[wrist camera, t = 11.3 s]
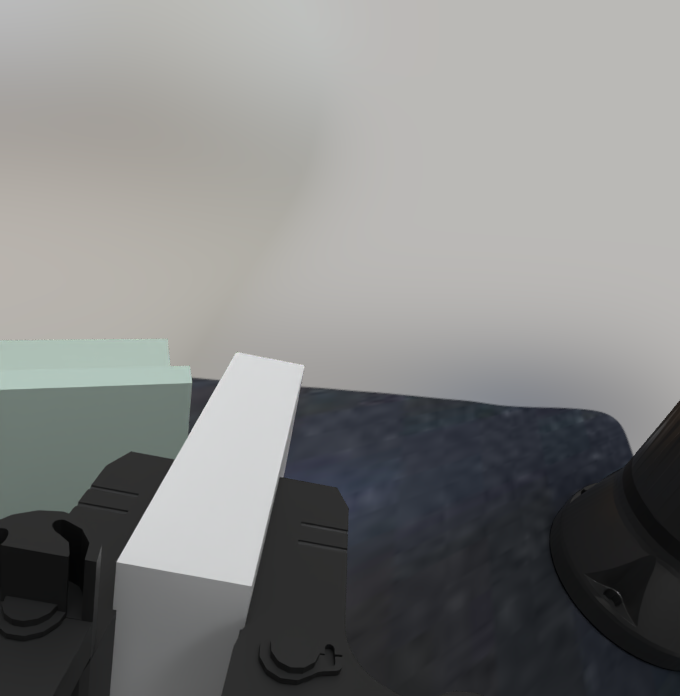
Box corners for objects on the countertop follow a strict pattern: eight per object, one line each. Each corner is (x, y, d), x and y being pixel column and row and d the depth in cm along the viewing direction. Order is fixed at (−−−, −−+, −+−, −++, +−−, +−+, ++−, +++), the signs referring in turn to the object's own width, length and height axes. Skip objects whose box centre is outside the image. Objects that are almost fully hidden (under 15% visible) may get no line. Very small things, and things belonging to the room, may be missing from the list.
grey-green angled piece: (164, 408, 47) (172, 233, 37) (177, 563, 37) (192, 382, 27) (-118, 422, 40) (-200, 214, 30) (-192, 614, 31) (-348, 402, 21)
